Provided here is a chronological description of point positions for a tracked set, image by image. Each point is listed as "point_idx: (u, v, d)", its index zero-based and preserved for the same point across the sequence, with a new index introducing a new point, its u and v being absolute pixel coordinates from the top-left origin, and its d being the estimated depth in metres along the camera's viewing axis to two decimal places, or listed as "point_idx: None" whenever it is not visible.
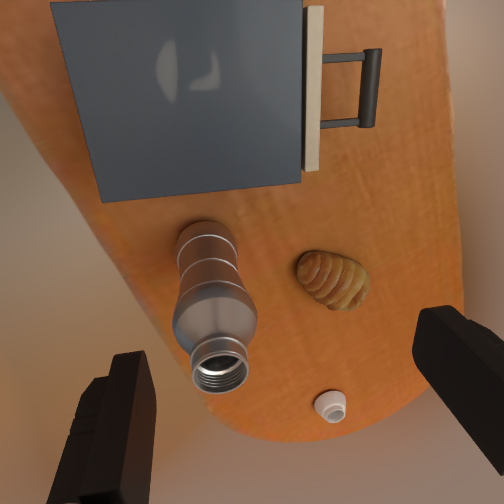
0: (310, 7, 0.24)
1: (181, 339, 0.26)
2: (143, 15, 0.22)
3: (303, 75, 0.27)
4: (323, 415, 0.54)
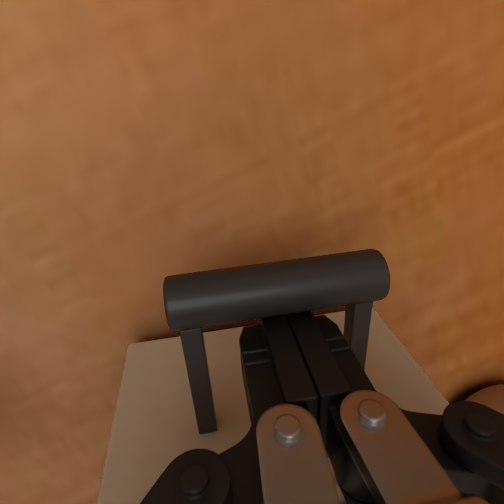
0: None
1: None
2: None
3: None
4: None
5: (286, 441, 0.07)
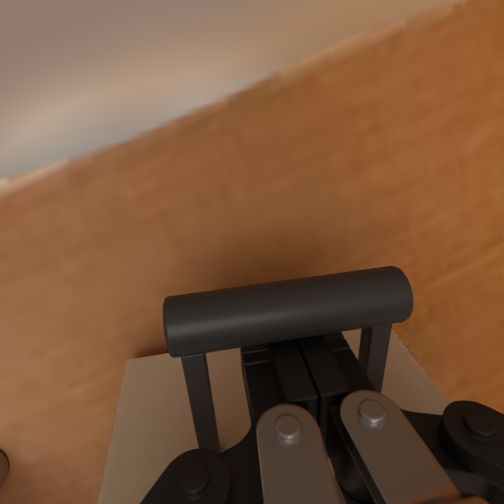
0: None
1: None
2: None
3: None
4: None
5: (286, 441, 0.07)
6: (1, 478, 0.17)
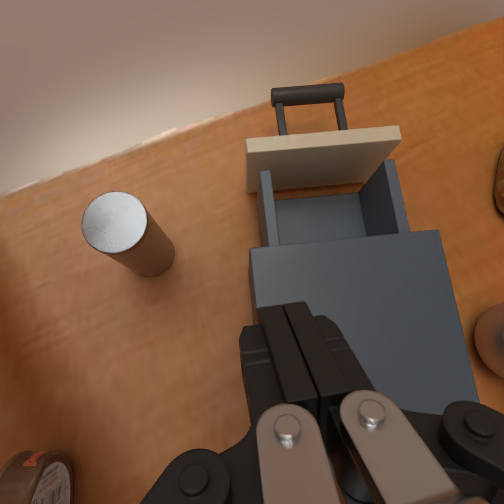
0: (248, 150, 0.26)
1: None
2: None
3: (303, 153, 0.27)
4: None
5: (286, 441, 0.07)
6: (172, 254, 0.32)
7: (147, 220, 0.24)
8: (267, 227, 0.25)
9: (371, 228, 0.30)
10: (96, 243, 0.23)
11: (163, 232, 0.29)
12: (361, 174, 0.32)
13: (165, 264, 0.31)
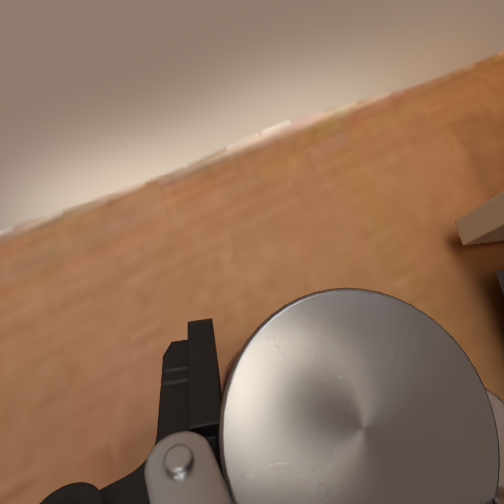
0: None
1: None
2: None
3: None
4: None
5: (173, 474, 0.06)
6: None
7: None
8: None
9: None
10: None
11: None
12: None
13: None
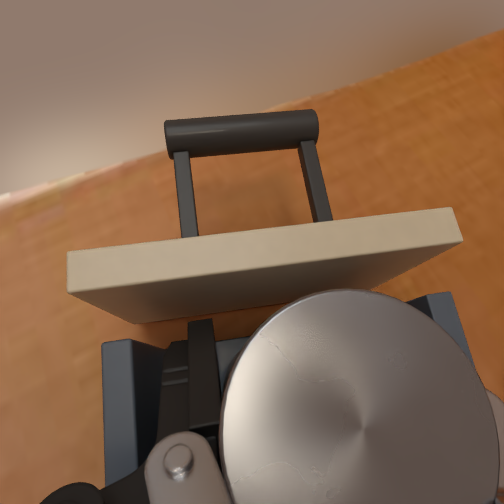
0: (70, 285, 0.10)
1: None
2: None
3: (227, 278, 0.11)
4: None
5: (173, 474, 0.06)
6: None
7: None
8: None
9: None
10: None
11: None
12: (358, 286, 0.16)
13: None
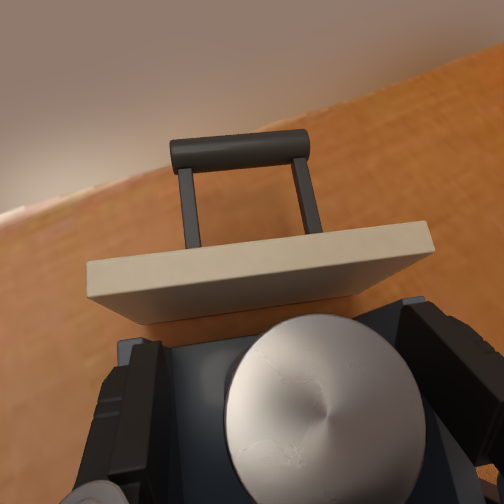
0: (89, 290, 0.11)
1: None
2: None
3: (226, 284, 0.12)
4: None
5: None
6: None
7: (421, 404, 0.08)
8: None
9: None
10: None
11: None
12: (347, 290, 0.17)
13: None
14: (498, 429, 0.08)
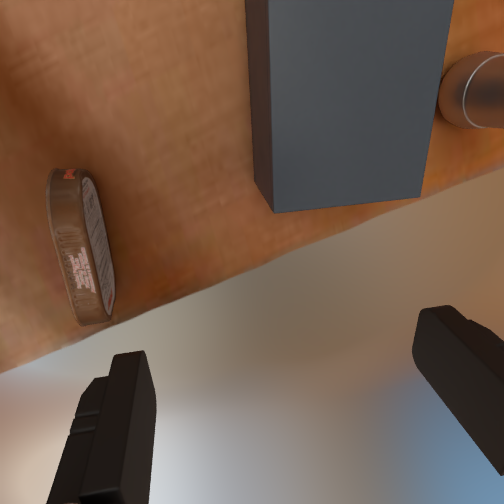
0: None
1: None
2: (283, 144, 0.26)
3: None
4: None
5: None
6: None
7: None
8: None
9: None
10: None
11: None
12: None
13: None
14: None
